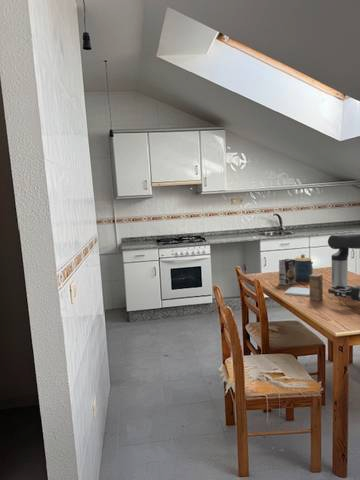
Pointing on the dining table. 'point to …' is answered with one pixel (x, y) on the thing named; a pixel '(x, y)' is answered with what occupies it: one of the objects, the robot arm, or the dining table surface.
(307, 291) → the pale pad
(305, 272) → the canister
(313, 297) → the walnut block
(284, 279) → the coffee box
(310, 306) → the dining table surface
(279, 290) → the dining table surface
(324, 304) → the dining table surface
